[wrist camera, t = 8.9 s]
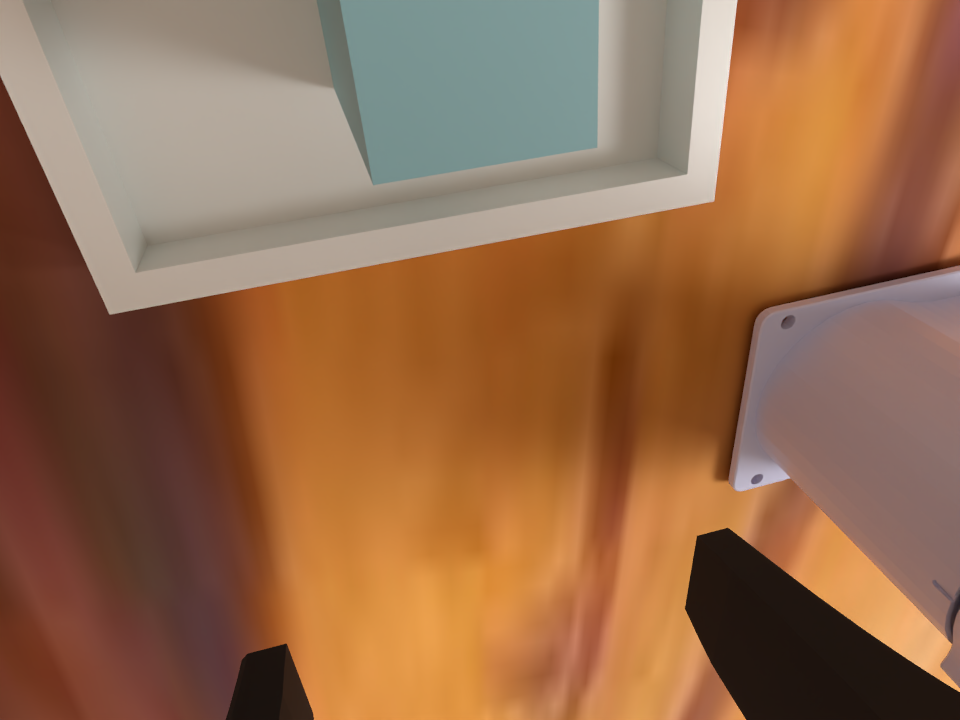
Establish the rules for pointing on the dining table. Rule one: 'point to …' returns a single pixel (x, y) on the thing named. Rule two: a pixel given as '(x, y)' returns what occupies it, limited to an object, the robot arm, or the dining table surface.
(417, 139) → the teal block
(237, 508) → the dining table surface
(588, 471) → the dining table surface
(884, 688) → the robot arm
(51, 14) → the tray
